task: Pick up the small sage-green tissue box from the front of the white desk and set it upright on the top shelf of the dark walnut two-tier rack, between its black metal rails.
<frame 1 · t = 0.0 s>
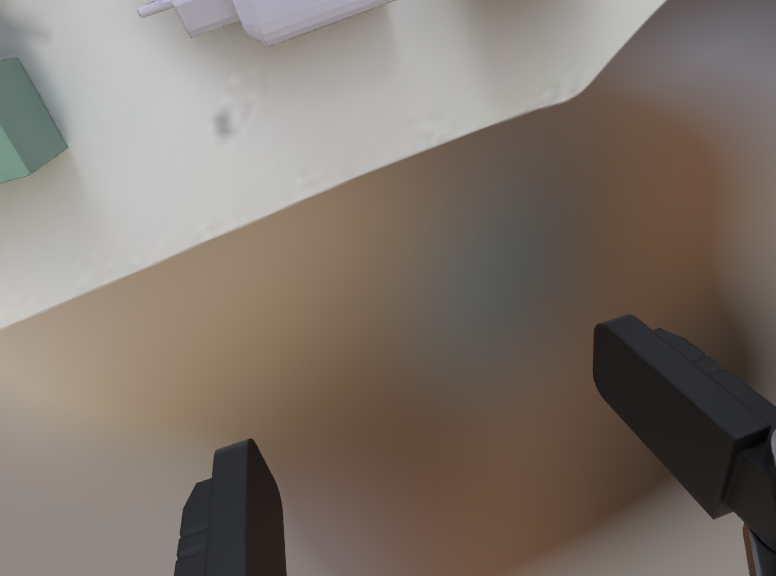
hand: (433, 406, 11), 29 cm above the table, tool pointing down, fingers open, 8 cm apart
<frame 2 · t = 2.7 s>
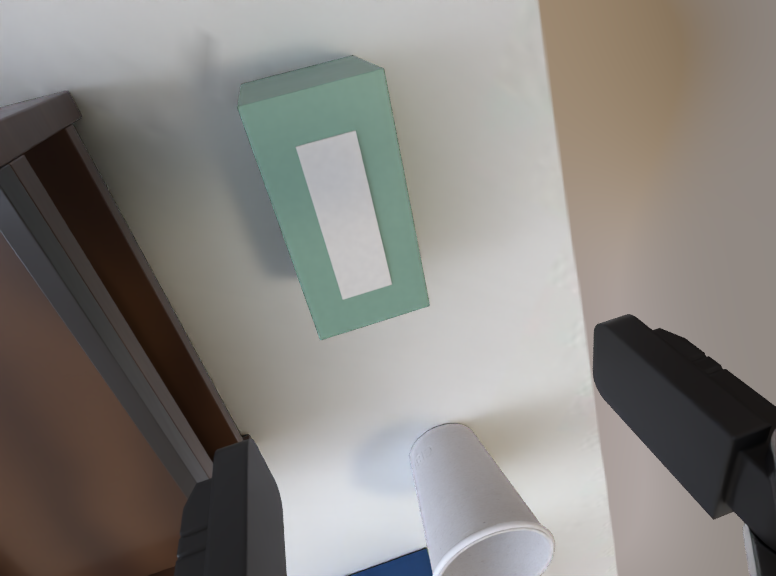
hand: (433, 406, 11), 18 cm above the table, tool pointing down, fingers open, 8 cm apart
rack: (77, 339, 27), on the table
tissue box: (328, 177, 26), on the table
dixie cup: (442, 447, 39), on the table
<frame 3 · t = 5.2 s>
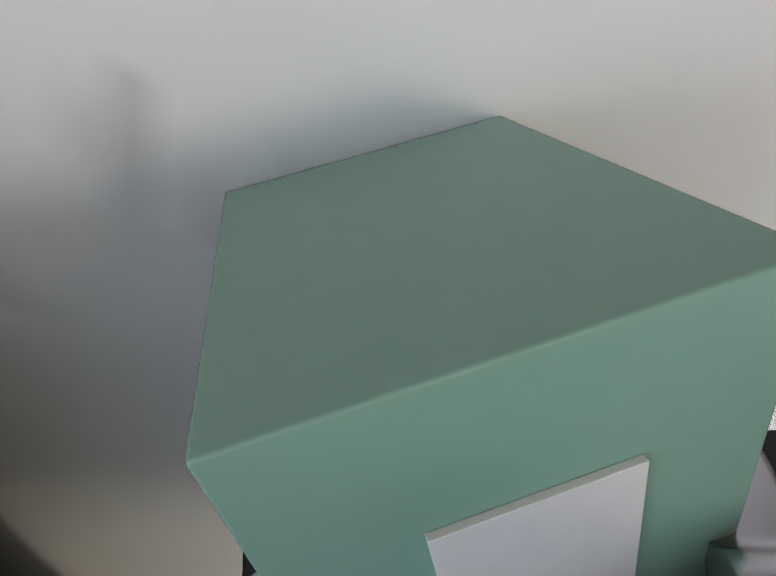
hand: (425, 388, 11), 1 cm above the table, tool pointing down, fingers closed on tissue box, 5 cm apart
tissue box: (415, 364, 12), on the table, touching gripper
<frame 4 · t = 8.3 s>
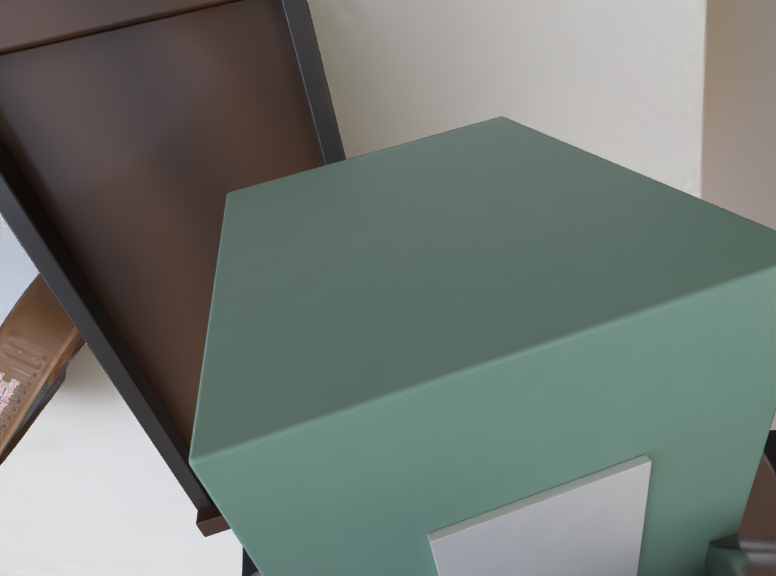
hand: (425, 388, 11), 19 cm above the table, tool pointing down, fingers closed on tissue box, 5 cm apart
rack: (243, 230, 28), on the table
tissue box: (416, 364, 12), point 18 cm above the table, touching gripper
brown food box: (78, 304, 29), on the table, touching rack
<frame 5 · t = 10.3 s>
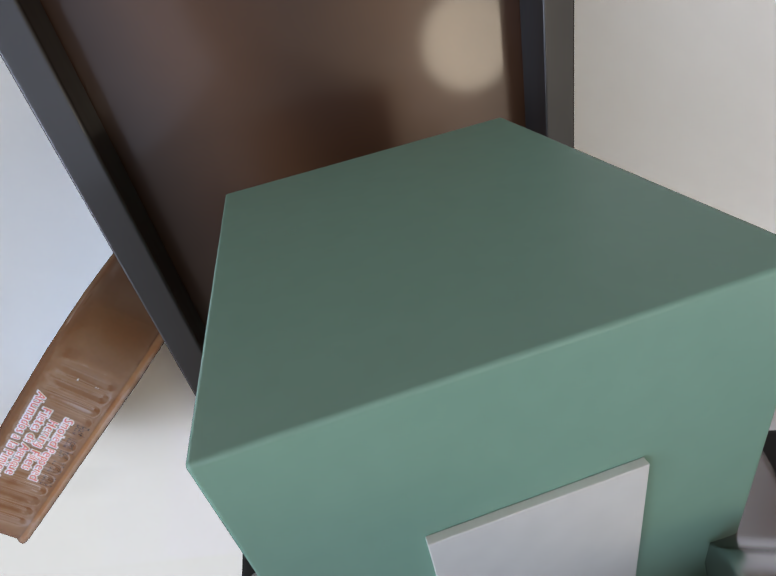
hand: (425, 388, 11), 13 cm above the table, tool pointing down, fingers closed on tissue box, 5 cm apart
rack: (339, 210, 22), on the table
tissue box: (415, 365, 12), point 12 cm above the table, touching gripper
brown food box: (128, 308, 22), on the table, touching rack
when the fingers open (9 cm above the table, at t = 11.7 s): tissue box stays where it is, resting on rack.
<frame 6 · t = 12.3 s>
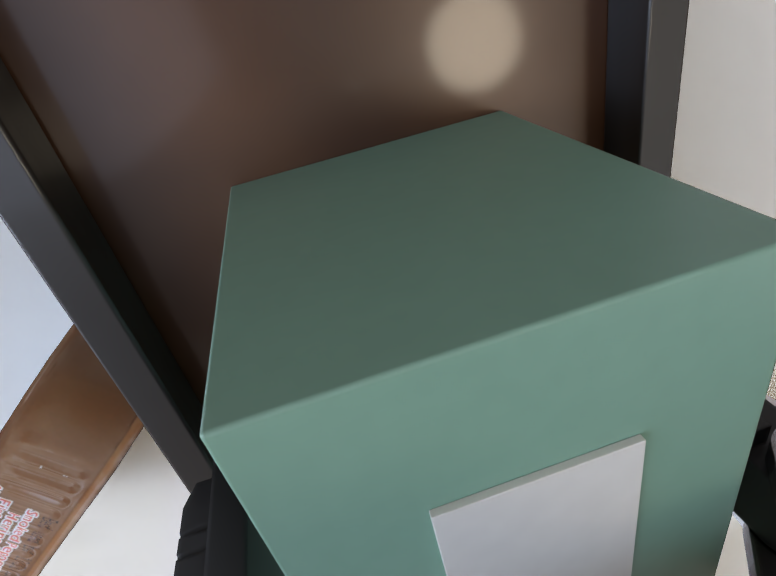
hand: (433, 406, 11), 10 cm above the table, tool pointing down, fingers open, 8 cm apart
rack: (357, 236, 19), on the table
tissue box: (417, 356, 12), point 8 cm above the table, touching rack
brown food box: (115, 349, 20), on the table, touching rack
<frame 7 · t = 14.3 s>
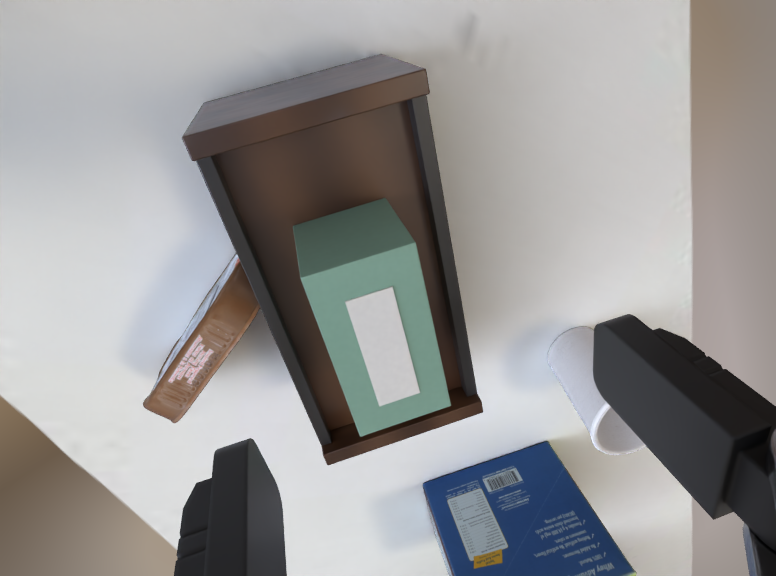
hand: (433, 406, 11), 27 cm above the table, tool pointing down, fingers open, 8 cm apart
rack: (343, 240, 38), on the table
tissue box: (362, 289, 31), point 8 cm above the table, touching rack
brown food box: (219, 299, 38), on the table, touching rack
dixie cup: (572, 348, 49), on the table
protein box: (489, 487, 57), on the table
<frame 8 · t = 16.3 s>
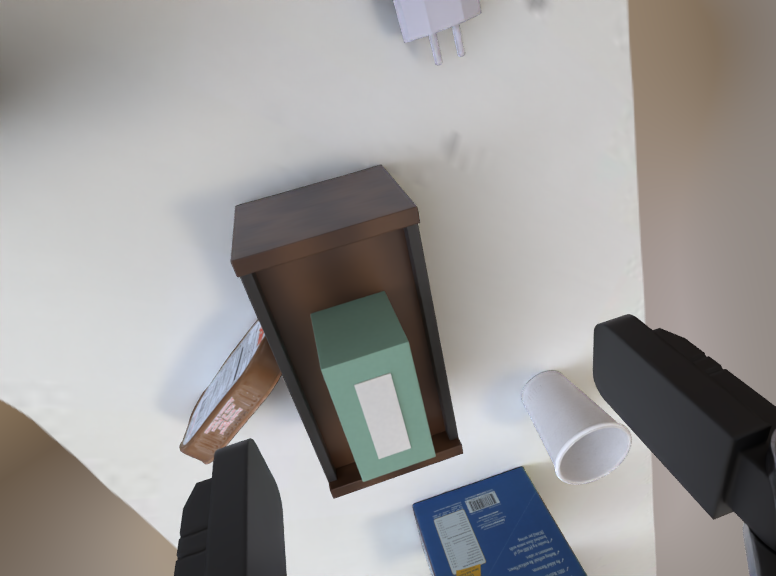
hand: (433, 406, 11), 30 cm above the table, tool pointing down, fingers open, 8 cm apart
rack: (346, 307, 45), on the table
tissue box: (365, 359, 38), point 8 cm above the table, touching rack
brown food box: (241, 355, 45), on the table, touching rack
dixie cup: (542, 388, 57), on the table
protein box: (471, 506, 65), on the table
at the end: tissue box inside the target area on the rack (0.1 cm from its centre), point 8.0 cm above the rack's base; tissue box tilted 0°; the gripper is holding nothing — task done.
